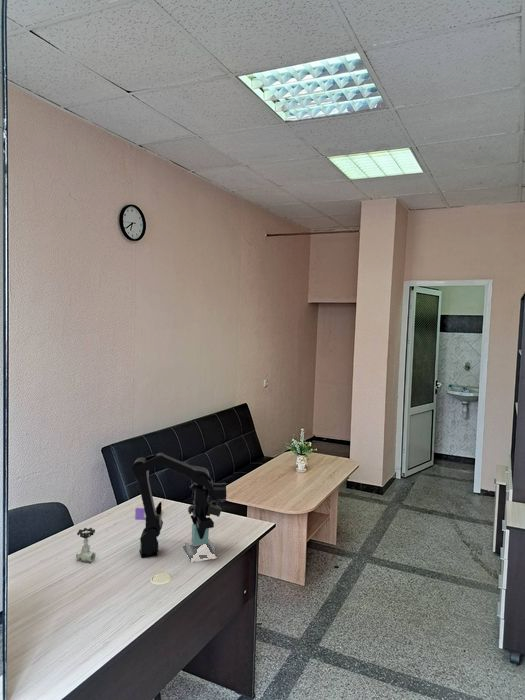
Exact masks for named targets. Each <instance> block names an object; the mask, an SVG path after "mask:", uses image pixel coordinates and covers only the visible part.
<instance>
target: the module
mask: <svg viewBox="0 0 525 700" xmlns="http://www.w3.org/2000/svg"><path fill="white" fill-rule="evenodd" d="M209 530H210V528H206V530H205V533H204V536H203V539H200V537H199V534H198V531H197V528H196V525H195V524H193V523H192V524H191V543H192V544H194V545H200V544H207V543H208V539H209V535H210V534H209V533H210V531H209Z"/></svg>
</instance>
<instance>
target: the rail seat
mask: <svg viewBox="0 0 525 700" xmlns="http://www.w3.org/2000/svg"><path fill="white" fill-rule="evenodd" d="M184 544H185V545H183V546H182V548H183V550H184V553H185V555H186V554H187V555H188V557H189V559H190V561H191V558H193V555H195V554H196V553H197V549H198V548H199V547H200V546H201V545H203V544H200V545H194V544H193V543H192V544H190V543H189V542H186V541H185V542H184ZM206 545H207V547H208V548H209V550H210V552H211V553H212V554H214V553H215V554H216V547H215V546H214V544H213V543H212V541H211V540H210V539H209V538H208V543H207V544H206ZM187 555H186V556H187ZM188 557H187V558H188ZM199 557H200V559H203V558H208V557H207V555H199ZM189 559H188V560H189ZM190 561H189V562H190Z"/></svg>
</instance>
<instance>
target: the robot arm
mask: <svg viewBox="0 0 525 700" xmlns="http://www.w3.org/2000/svg"><path fill="white" fill-rule="evenodd" d="M158 466H162V467H164V468H167V469H169V470H171V471H174V472H176V473H179V474H181V475H183V476H186V477H187V478H188V479H190V481H192V482H193V483H192V484H191V485H190V486H189V490H191V491H194V497H193V498H194V499H193V500H192V503H193V504H191V505H189V507H188V508H187V509H188V510H187V511H188V514H189V515H190V519H191V522H192V524H195V525H196V528H197V531H198V534H199V537H200V539H203V536H204V533H205V530H206V528H209V529H211V528H212V529H213V528H214V527H215V521H213V519H212V518H211V517H210V516H211V515H212V516H216V517H220V516H221V512H222V508H221V506H220V505H218V504H217V502H216V501H227V483H226V482H214V480H213V479H212V477H211V476H210V472H209V470H208V468H206V467H202V466H199V465H192V464H188V463H185V462H184V461H181V460H178V459H176V458H173V457H171V456H169V455H167V454H165V453H163V452H158V453H156V454H151V455H149V456H146V457H143V456H141V457H138V458H136V459H135V461H134V463H133V464H132V466H131V471H132V474H133V476H134V479H135V480H136V481H137V483H138V486H139V491H140V497H141V501H142V505H143V508H144V510H145V516H146V520H145V527H144V528H143V530H142V532H141V536H140V538H139V540H140V543H139V544H140V545H139V546H140V547H139V550H138V552H139V555H140V558H141V559H143V558H144V559H145V558H151V557H157V556H158V553H159V540H158V537H159V536H160V534H161V531H162V529H163V524H164V521H163V519H162V513H161V514H159V515H158V514H157V513H156V510H155V509H156V507H155V502H154V497H153V494H152V488H151V484H150V480H149V477H150V475H149V474H150V473H149V472H150V471H151V470H152V469H155V467H158ZM209 497H210V498H211V500H210V501H209Z"/></svg>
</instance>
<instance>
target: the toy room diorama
mask: <svg viewBox="0 0 525 700" xmlns="http://www.w3.org/2000/svg"><path fill="white" fill-rule="evenodd" d="M155 510H156V513H157V514H158V515H159V514H161V515H162V501H160V502H159V503H158V504H157V506H156V507H155ZM134 512H135V515H134V516H135V518H134V520H140V521H141V520H143V521H146V515H145V510H144V507H135V511H134Z"/></svg>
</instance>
